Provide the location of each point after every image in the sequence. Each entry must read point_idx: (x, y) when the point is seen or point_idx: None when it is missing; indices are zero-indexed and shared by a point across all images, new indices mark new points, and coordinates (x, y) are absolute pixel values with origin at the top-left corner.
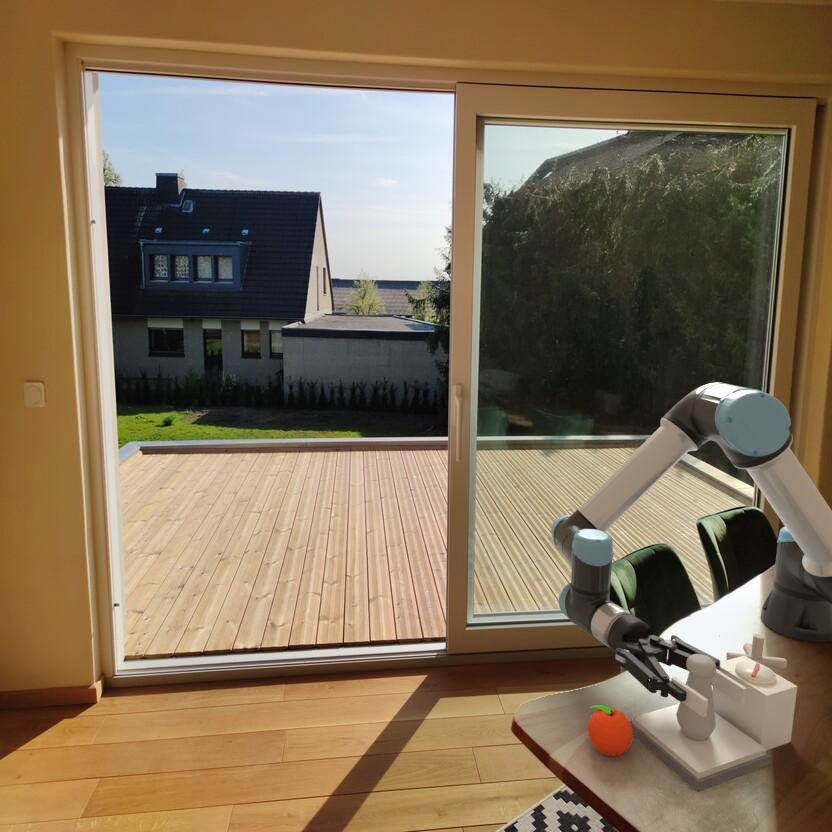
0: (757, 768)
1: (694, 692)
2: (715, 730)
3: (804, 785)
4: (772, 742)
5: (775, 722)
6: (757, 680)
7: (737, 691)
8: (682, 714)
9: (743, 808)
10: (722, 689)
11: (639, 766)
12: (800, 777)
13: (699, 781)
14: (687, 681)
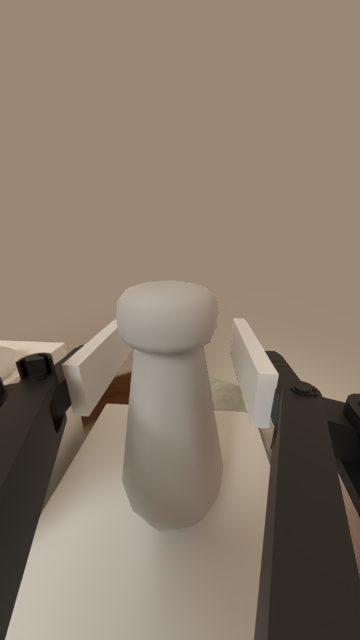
0: None
1: (247, 330)
2: (120, 472)
3: (116, 387)
4: None
5: None
6: (14, 353)
7: None
8: (218, 458)
9: (214, 394)
10: (111, 372)
11: (351, 531)
12: (104, 394)
13: None
14: (196, 390)
